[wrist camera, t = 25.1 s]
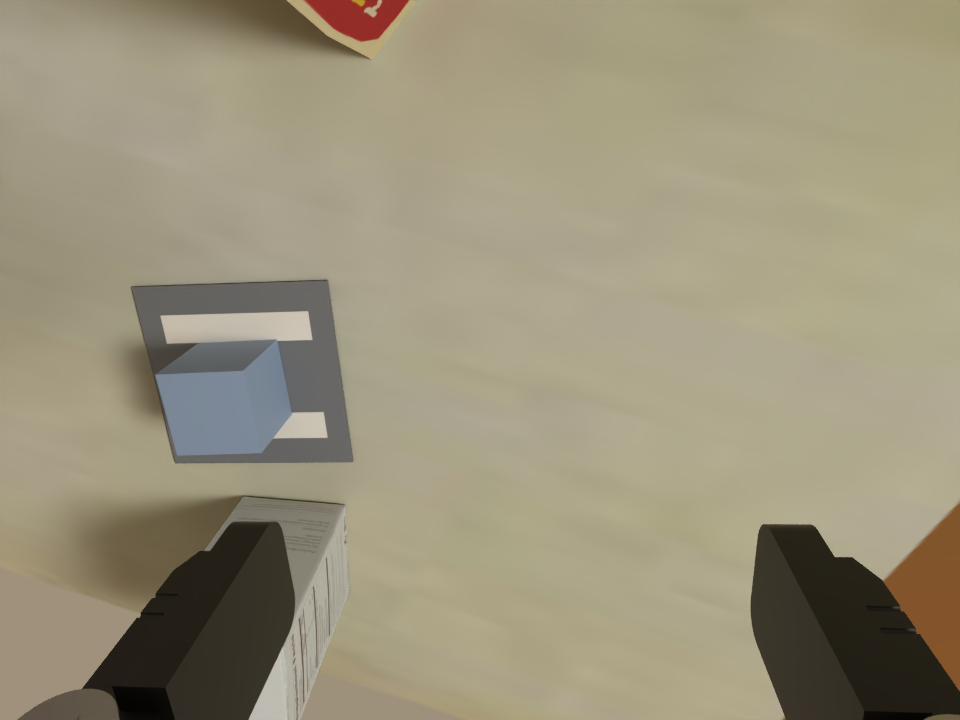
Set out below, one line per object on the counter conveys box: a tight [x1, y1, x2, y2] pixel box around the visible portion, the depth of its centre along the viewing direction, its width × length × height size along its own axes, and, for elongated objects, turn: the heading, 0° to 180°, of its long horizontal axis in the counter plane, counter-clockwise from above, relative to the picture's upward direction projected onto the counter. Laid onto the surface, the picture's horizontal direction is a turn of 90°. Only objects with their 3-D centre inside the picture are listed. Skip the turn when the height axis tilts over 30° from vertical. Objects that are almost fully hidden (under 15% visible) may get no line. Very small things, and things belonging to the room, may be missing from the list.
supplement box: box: [204, 497, 349, 720], centre depth 41 cm, size 7×7×13 cm
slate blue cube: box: [155, 339, 292, 456], centre depth 40 cm, size 5×5×5 cm
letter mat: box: [132, 280, 353, 463], centre depth 42 cm, size 12×12×1 cm
